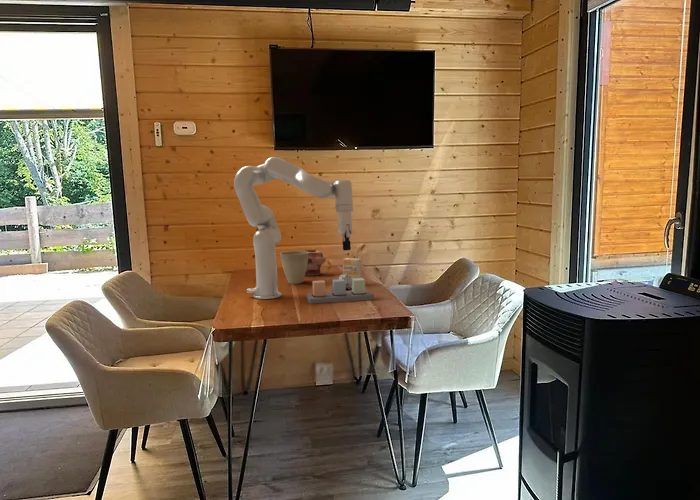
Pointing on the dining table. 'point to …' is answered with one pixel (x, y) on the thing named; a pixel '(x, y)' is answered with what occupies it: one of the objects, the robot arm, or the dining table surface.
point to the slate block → (339, 287)
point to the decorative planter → (314, 262)
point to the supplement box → (352, 267)
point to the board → (338, 297)
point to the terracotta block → (319, 288)
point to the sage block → (358, 285)
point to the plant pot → (294, 265)
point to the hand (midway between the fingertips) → (346, 250)
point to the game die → (347, 279)
